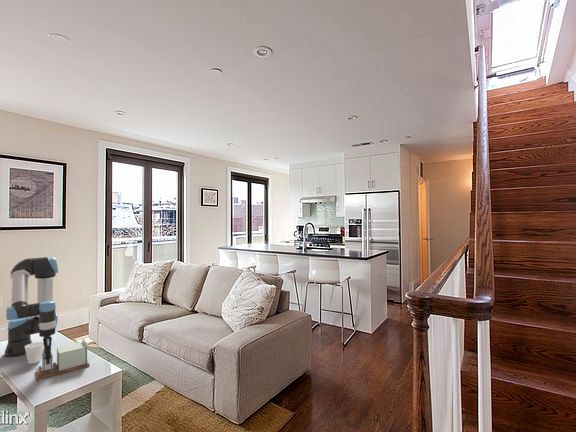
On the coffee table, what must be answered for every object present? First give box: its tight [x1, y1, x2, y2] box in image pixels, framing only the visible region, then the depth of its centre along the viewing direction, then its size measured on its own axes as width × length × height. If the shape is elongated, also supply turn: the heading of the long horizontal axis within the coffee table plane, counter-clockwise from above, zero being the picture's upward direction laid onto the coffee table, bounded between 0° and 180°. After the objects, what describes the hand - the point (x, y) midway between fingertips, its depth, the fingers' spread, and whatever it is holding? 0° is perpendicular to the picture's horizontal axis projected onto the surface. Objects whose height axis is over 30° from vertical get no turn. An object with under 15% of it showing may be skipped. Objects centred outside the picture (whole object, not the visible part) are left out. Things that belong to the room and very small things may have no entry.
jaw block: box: [41, 351, 54, 371], centre depth 182 cm, size 4×4×8 cm
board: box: [35, 359, 90, 382], centre depth 187 cm, size 14×25×4 cm, turn 132°
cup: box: [24, 341, 44, 365], centre depth 196 cm, size 10×10×11 cm
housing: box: [56, 336, 88, 371], centre depth 190 cm, size 11×14×13 cm
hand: (47, 367), depth 182 cm, fingers closed on jaw block, 4 cm apart
